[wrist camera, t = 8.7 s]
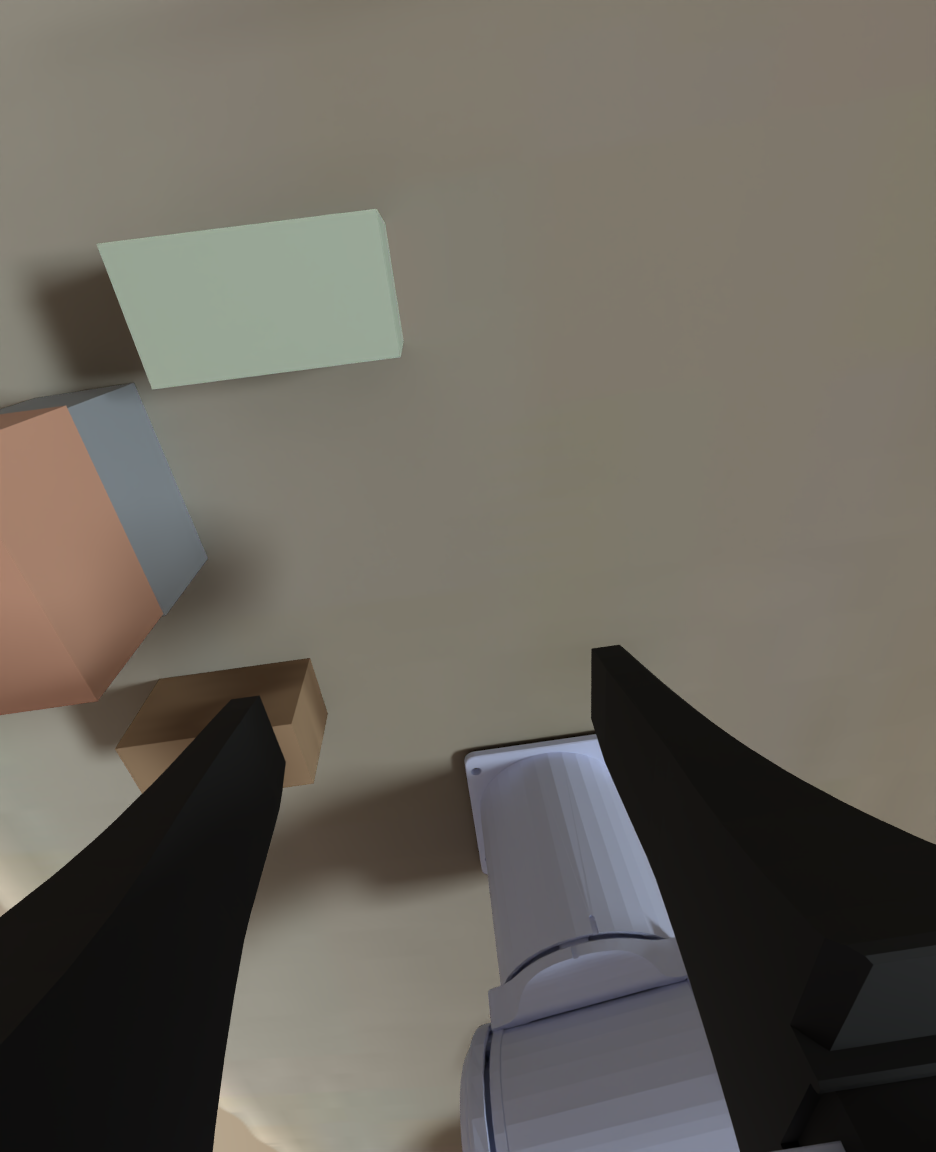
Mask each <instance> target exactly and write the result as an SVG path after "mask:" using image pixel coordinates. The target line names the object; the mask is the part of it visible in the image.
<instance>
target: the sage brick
mask: <svg viewBox="0 0 936 1152" xmlns="http://www.w3.org/2000/svg"><path fill="white" fill-rule="evenodd" d="M97 246H98V249H99V252H100V254H101V257H102V260H103V262H104V265H105V267H106V270H107V273H108V275H109V278H110V280H111V283H112V286H113V288H114V291H115V293H116V296H117V299H118V301H119V304H120V307H121V309H122V312H123V314H124V317H125V320H126V322H127V325H128V327H129V330H130V333H131V335H132V338H133V340H134V343H135V346H136V348H137V351H138V354H139V356H140V359H141V361H142V364H143V367H144V369H145V372H146V374H147V377H148V380H149V382H150V385H151V388H152V389H160V388H168V387H175V386H183V385H191V384H198V383H206V382H214V381H221V380H229V379H237V378H244V377H252V376H260V375H267V374H275V373H283V372H290V371H298V370H306V369H313V368H321V367H329V366H336V365H344V364H352V363H359V362H367V361H375V360H383V359H390V358H398V357H401V352H402V347H403V342H404V341H403V335H402V329H401V322H400V316H399V309H398V303H397V297H396V290H395V284H394V278H393V271H392V265H391V258H390V252H389V246H388V239H387V233H386V226H385V223H384V221H383V219H382V217H381V216H380V214H379V212H378V210H377V209H371V210H363V211H355V212H347V213H339V214H331V215H323V216H315V217H307V218H299V219H291V220H283V221H275V222H267V223H259V224H251V225H243V226H235V227H227V228H219V229H211V230H203V231H195V232H187V233H179V234H171V235H163V236H155V237H147V238H139V239H131V240H123V241H115V242H107V243H99V244H97Z"/></svg>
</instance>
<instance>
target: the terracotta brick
mask: <svg viewBox="0 0 936 1152" xmlns="http://www.w3.org/2000/svg"><path fill="white" fill-rule="evenodd" d="M162 615H163V612H162V610H161V608H160V606H159V603H158V601H157V599H156V597H155V595H154V593H153V591H152V588H151V586H150V584H149V582H148V580H147V578H146V576H145V573H144V571H143V569H142V567H141V565H140V563H139V561H138V558H137V556H136V554H135V552H134V550H133V548H132V546H131V543H130V541H129V539H128V537H127V535H126V533H125V531H124V528H123V526H122V524H121V522H120V520H119V518H118V516H117V513H116V511H115V509H114V507H113V505H112V503H111V501H110V498H109V496H108V494H107V492H106V490H105V488H104V486H103V483H102V481H101V479H100V477H99V475H98V473H97V471H96V468H95V466H94V464H93V462H92V460H91V458H90V456H89V453H88V451H87V449H86V447H85V445H84V443H83V441H82V438H81V436H80V434H79V432H78V430H77V428H76V426H75V423H74V421H73V419H72V417H71V415H70V413H69V411H68V408H67V406H59V407H51V408H44V409H36V410H29V411H21V412H13V413H6V414H0V715H4V714H11V713H18V712H25V711H32V710H39V709H46V708H54V707H61V706H68V705H75V704H82V703H89V702H96V701H98V700H99V699H100V697H101V696H102V695H103V693H104V692H105V691H106V689H107V688H108V687H109V685H110V684H111V683H112V681H113V680H114V679H115V677H116V676H117V675H118V673H119V672H120V671H121V669H122V668H123V667H124V665H125V664H126V663H127V661H128V660H129V659H130V657H131V656H132V655H133V653H134V652H135V651H136V649H137V648H138V647H139V645H140V644H141V643H142V641H143V640H144V639H145V638H146V636H147V635H148V634H149V632H150V631H151V630H152V628H153V627H154V626H155V624H156V623H157V622H158V620H159V619H160V618H161V616H162Z"/></svg>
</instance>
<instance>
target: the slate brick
mask: <svg viewBox="0 0 936 1152" xmlns="http://www.w3.org/2000/svg"><path fill="white" fill-rule="evenodd" d="M59 406H67V408H68V411H69V413H70V415H71V417H72V419H73V421H74V423H75V426H76V428H77V430H78V432H79V434H80V436H81V438H82V441H83V443H84V445H85V447H86V449H87V451H88V453H89V456H90V458H91V460H92V462H93V464H94V466H95V468H96V471H97V473H98V475H99V477H100V479H101V481H102V483H103V486H104V488H105V490H106V492H107V494H108V496H109V498H110V501H111V503H112V505H113V507H114V509H115V511H116V513H117V516H118V518H119V520H120V522H121V524H122V526H123V528H124V531H125V533H126V535H127V537H128V539H129V541H130V543H131V546H132V548H133V550H134V552H135V554H136V556H137V558H138V561H139V563H140V565H141V567H142V569H143V571H144V573H145V576H146V578H147V580H148V582H149V584H150V586H151V588H152V591H153V593H154V595H155V597H156V599H157V601H158V603H159V606H160V608H161V610H162V612H163V615H162V616H166V614H167V613H168V612H169V610H170V609H171V608H172V606H173V605H174V604H175V602H176V601H177V600H178V598H179V597H180V596H181V594H182V593H183V591H184V590H185V589H186V587H187V586H188V585H189V583H190V582H191V581H192V579H193V578H194V577H195V575H196V574H197V573H198V571H199V570H200V568H201V567H202V566H203V564H204V563H205V562H206V560H207V559H208V557H207V555H206V553H205V550H204V548H203V545H202V543H201V541H200V538H199V536H198V534H197V531H196V529H195V526H194V524H193V522H192V519H191V517H190V515H189V512H188V510H187V507H186V505H185V503H184V500H183V498H182V496H181V493H180V491H179V488H178V486H177V484H176V481H175V479H174V477H173V474H172V472H171V469H170V467H169V465H168V462H167V460H166V458H165V455H164V453H163V450H162V448H161V446H160V443H159V441H158V439H157V436H156V434H155V431H154V429H153V427H152V424H151V422H150V420H149V417H148V415H147V412H146V410H145V408H144V405H143V403H142V401H141V398H140V396H139V393H138V391H137V389H136V386H135V384H134V383H129V384H123V385H116V386H110V387H104V388H97V389H91V390H84V391H78V392H71V393H65V394H58V395H52V396H46V397H39V398H34V399H31V400H27V401H24V402H21V403H18V404H15V405H12V406H9V407H6V408H2V409H0V414H6V413H13V412H21V411H29V410H36V409H44V408H51V407H59Z"/></svg>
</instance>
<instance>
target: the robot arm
mask: <svg viewBox="0 0 936 1152" xmlns="http://www.w3.org/2000/svg"><path fill="white" fill-rule="evenodd" d="M591 719H592V723H593V726H594V729H595V733H596V734H593V735H586V736H579V737H572V738H565V739H558V740H551V741H544V742H537V743H530V744H523V745H516V746H509V747H502V748H495V749H488V750H481V751H474V752H470V753H469V754H467V755H466V756H465V759H464V762H465V769H466V775H467V781H468V788H469V794H470V800H471V806H472V812H473V818H474V825H475V831H476V837H477V843H478V849H479V855H480V861H481V868H482V871H483V873H485V874H487V875H488V881H489V890H490V898H491V907H492V915H493V924H494V932H495V941H496V949H497V958H498V966H499V974H500V983H501V986H499V987H496V988H493V989H490V990H489V991H488V997H489V1007H490V1018H491V1023H488V1024H484V1025H481V1026H479V1027H478V1029H477V1030H476V1031H475V1033H474V1036H473V1038H472V1040H471V1045H470V1048H469V1050H468V1053H467V1055H466V1057H465V1060H464V1064H463V1069H462V1076H461V1086H460V1125H461V1140H462V1151H463V1152H936V845H935V844H933V843H930V842H928V841H925V840H923V839H921V838H919V837H916V836H914V835H912V834H910V833H907V832H905V831H903V830H901V829H899V828H897V827H894V826H892V825H890V824H888V823H886V822H884V821H881V820H879V819H877V818H875V817H873V816H871V815H868V814H866V813H864V812H862V811H860V810H858V809H856V808H854V807H852V806H850V805H848V804H846V803H844V802H842V801H840V800H838V799H837V798H835V797H833V796H831V795H829V794H827V793H825V792H823V791H822V790H820V789H818V788H816V787H814V786H812V785H810V784H809V783H807V782H805V781H803V780H801V779H799V778H798V777H796V776H794V775H793V774H791V773H789V772H787V771H786V770H784V769H782V768H781V767H779V766H777V765H776V764H774V763H772V762H771V761H769V760H768V759H766V758H764V757H763V756H761V755H760V754H758V753H756V752H755V751H753V750H752V749H750V748H748V747H747V746H745V745H744V744H742V743H741V742H739V741H738V740H736V739H735V738H734V737H732V736H731V735H729V734H728V733H727V732H725V731H724V730H722V729H721V728H720V727H718V726H717V725H715V724H714V723H713V722H711V721H710V720H709V719H707V718H706V717H705V716H703V715H702V714H701V713H700V712H698V711H697V710H696V709H694V708H693V707H692V706H691V705H689V704H688V703H687V702H686V701H684V700H683V699H682V698H681V697H680V696H678V695H677V694H676V693H675V692H673V691H672V690H671V689H670V688H669V687H667V686H666V685H665V684H664V683H663V682H661V681H660V680H659V679H658V678H657V677H656V676H655V675H653V674H652V673H651V672H650V671H649V670H648V669H647V668H645V667H644V666H643V665H642V664H641V663H640V662H639V661H638V660H636V659H635V658H634V657H633V656H632V655H631V654H630V653H629V652H627V651H626V650H625V649H624V648H623V647H621V646H620V645H614V646H607V647H600V648H593V649H592V658H591ZM285 766H286V761H285V758H284V756H283V753H282V751H281V748H280V746H279V743H278V741H277V738H276V736H275V733H274V731H273V728H272V726H271V723H270V720H269V718H268V715H267V713H266V710H265V708H264V705H263V703H262V700H261V698H260V695H258V696H251V697H244V698H237V699H231V700H230V701H229V702H228V703H227V704H226V705H225V706H224V707H223V708H222V709H221V710H220V711H219V713H218V714H217V715H216V716H215V717H214V718H213V719H212V720H211V721H210V722H209V723H208V724H207V726H206V727H205V728H204V729H203V730H202V731H201V732H200V733H199V734H198V736H197V737H196V738H195V739H194V740H193V741H192V742H191V743H190V744H189V745H188V746H187V748H186V749H185V750H184V751H183V752H182V753H181V754H180V755H179V756H178V757H177V758H176V759H175V760H174V761H173V763H172V764H171V765H170V766H169V767H168V768H167V769H166V770H165V771H164V772H163V773H162V774H161V775H160V776H159V777H158V779H157V780H156V781H155V782H154V783H153V784H152V785H151V786H149V787H148V788H147V789H146V790H145V791H144V792H143V793H142V794H141V795H140V796H139V797H138V798H137V799H136V800H135V801H134V802H133V803H132V804H131V805H130V806H129V807H128V808H127V809H126V810H125V811H124V812H123V813H122V814H121V815H120V816H119V817H118V818H117V819H116V820H115V821H114V822H113V823H112V824H111V825H110V826H109V827H108V828H107V829H106V830H105V831H104V832H102V833H101V834H100V835H99V836H98V837H97V838H96V839H95V840H94V841H93V842H91V843H90V844H89V845H88V846H87V847H86V848H85V849H83V850H82V851H81V852H80V853H79V854H78V855H76V856H75V857H74V858H73V859H72V860H71V861H70V862H68V863H67V864H66V865H65V866H64V867H63V868H61V869H60V870H59V871H58V872H57V873H55V874H54V875H53V876H52V877H51V878H49V879H48V880H47V881H46V882H44V883H43V884H42V885H40V886H39V887H38V888H37V889H35V890H34V891H33V892H32V893H30V894H29V895H28V896H26V897H25V898H24V899H23V900H21V901H20V902H19V903H17V904H16V905H15V906H14V907H12V908H11V909H10V910H9V911H7V912H6V913H5V914H3V915H2V916H1V917H0V1152H213V1143H214V1133H215V1125H216V1117H217V1110H218V1103H219V1095H220V1087H221V1080H222V1072H223V1065H224V1057H225V1051H226V1044H227V1038H228V1032H229V1025H230V1019H231V1013H232V1006H233V1000H234V994H235V988H236V983H237V977H238V971H239V966H240V960H241V955H242V949H243V944H244V939H245V935H246V930H247V926H248V922H249V918H250V914H251V910H252V907H253V903H254V900H255V896H256V892H257V889H258V885H259V882H260V878H261V874H262V871H263V867H264V864H265V860H266V857H267V853H268V849H269V846H270V842H271V838H272V835H273V831H274V827H275V824H276V820H277V816H278V812H279V808H280V802H281V796H282V789H283V782H284V774H285ZM474 768H477V769H474Z"/></svg>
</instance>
